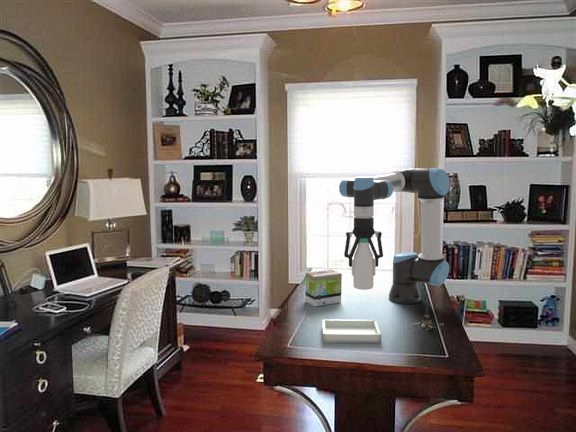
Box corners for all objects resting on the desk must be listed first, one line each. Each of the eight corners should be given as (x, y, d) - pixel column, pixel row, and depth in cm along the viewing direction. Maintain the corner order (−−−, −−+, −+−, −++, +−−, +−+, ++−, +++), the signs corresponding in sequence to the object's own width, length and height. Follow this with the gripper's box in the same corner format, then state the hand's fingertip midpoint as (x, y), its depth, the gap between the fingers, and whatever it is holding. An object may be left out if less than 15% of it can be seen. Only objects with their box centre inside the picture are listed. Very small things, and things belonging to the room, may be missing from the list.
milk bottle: (372, 290, 182) (373, 239, 180) (352, 289, 184) (352, 239, 181) (373, 285, 190) (374, 235, 187) (354, 284, 191) (354, 235, 189)
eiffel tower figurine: (444, 324, 201) (445, 294, 200) (447, 333, 192) (448, 301, 190) (407, 322, 204) (408, 292, 203) (408, 331, 195) (409, 299, 193)
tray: (375, 328, 197) (375, 319, 196) (381, 343, 181) (381, 334, 181) (322, 327, 198) (322, 319, 198) (323, 342, 182) (323, 334, 182)
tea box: (315, 307, 224) (315, 277, 222) (304, 301, 233) (304, 272, 231) (341, 302, 231) (342, 272, 229) (330, 297, 240) (330, 268, 238)
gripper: (337, 218, 180) (337, 277, 183) (391, 218, 179) (391, 277, 182) (336, 215, 187) (336, 272, 191) (389, 215, 186) (388, 272, 189)
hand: (363, 274), depth 186 cm, fingers closed on milk bottle, 7 cm apart
